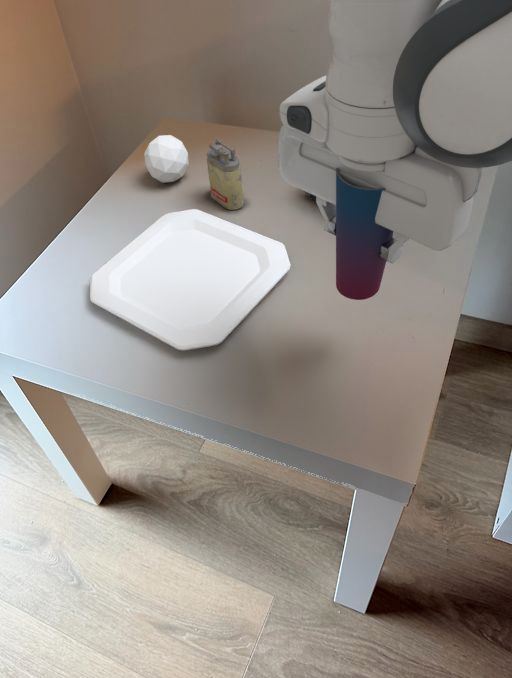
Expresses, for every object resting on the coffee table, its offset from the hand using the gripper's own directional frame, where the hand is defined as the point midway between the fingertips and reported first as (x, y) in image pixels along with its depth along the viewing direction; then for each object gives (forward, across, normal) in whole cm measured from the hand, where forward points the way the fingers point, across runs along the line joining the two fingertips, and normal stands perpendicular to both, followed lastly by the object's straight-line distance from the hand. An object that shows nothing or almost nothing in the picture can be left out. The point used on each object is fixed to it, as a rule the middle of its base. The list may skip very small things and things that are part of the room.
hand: (360, 243), depth 58 cm
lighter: (+17, +36, -13) cm, 41 cm away
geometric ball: (+16, +48, -11) cm, 52 cm away
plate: (+17, +26, +5) cm, 31 cm away
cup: (+6, 0, 0) cm, 6 cm away
